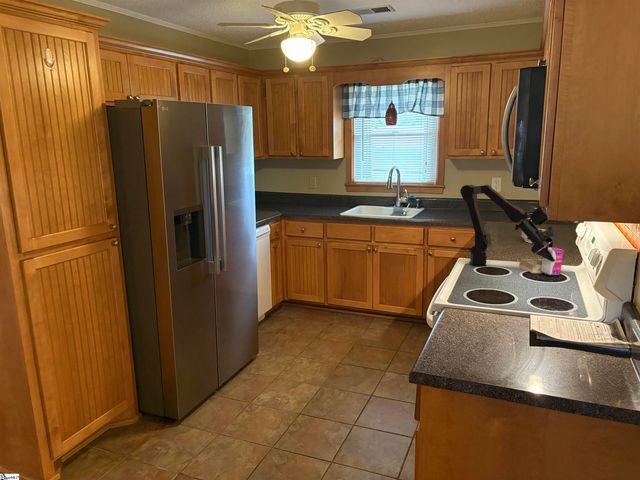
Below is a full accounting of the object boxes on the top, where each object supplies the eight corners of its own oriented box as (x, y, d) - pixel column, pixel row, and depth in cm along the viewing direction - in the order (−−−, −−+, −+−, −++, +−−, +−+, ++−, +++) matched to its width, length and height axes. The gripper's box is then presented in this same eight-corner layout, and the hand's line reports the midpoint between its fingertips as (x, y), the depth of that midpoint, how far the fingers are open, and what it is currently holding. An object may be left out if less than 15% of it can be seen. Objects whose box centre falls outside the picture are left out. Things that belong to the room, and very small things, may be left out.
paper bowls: (550, 245, 284) (551, 232, 283) (522, 244, 289) (523, 230, 287) (545, 241, 299) (547, 228, 297) (519, 239, 303) (520, 227, 302)
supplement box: (550, 275, 211) (552, 250, 209) (540, 272, 217) (543, 247, 215) (561, 274, 213) (564, 249, 211) (551, 271, 219) (554, 246, 216)
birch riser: (531, 273, 219) (532, 265, 219) (519, 266, 232) (520, 258, 231) (560, 273, 220) (560, 265, 219) (546, 266, 233) (546, 258, 232)
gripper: (542, 223, 205) (567, 252, 201) (551, 218, 220) (575, 245, 216) (521, 239, 211) (545, 267, 207) (531, 233, 226) (554, 259, 222)
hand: (555, 259), depth 213 cm, fingers closed on supplement box, 8 cm apart
